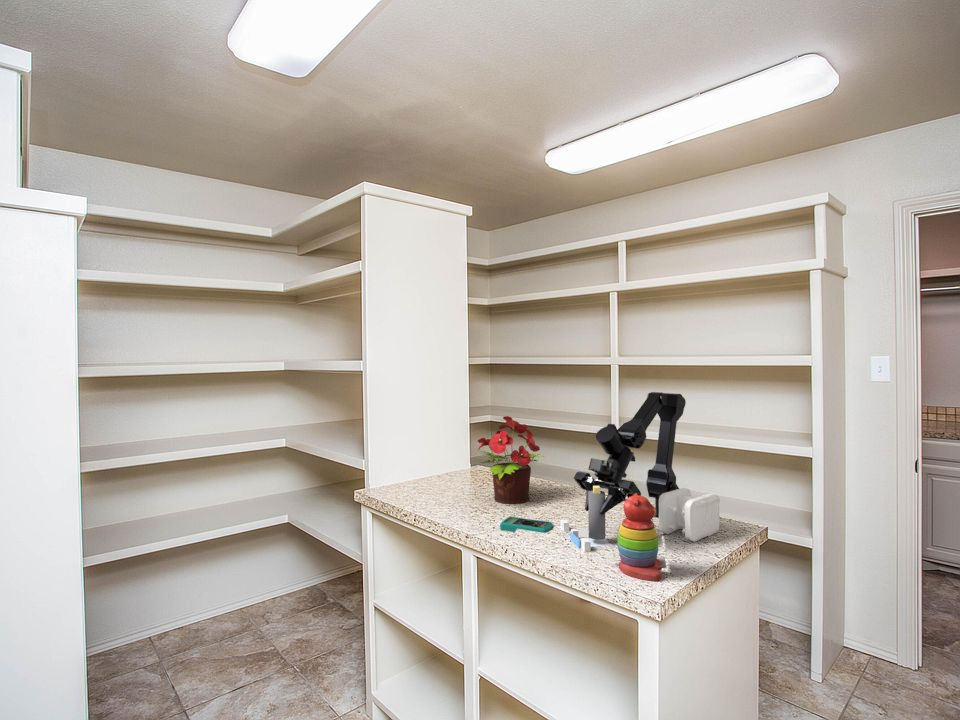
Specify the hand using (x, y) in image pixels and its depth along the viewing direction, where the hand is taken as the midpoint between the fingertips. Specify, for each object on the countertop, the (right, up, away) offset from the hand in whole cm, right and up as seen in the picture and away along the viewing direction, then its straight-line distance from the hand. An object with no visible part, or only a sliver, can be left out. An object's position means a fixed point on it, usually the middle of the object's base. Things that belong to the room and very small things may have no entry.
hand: (593, 512), depth 139 cm
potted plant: (-21, -10, +50) cm, 55 cm away
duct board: (+1, -9, +5) cm, 10 cm away
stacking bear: (+8, -10, -15) cm, 20 cm away
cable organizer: (+30, -9, +9) cm, 32 cm away
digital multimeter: (-17, -10, +15) cm, 25 cm away
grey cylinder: (+1, -7, +1) cm, 7 cm away
